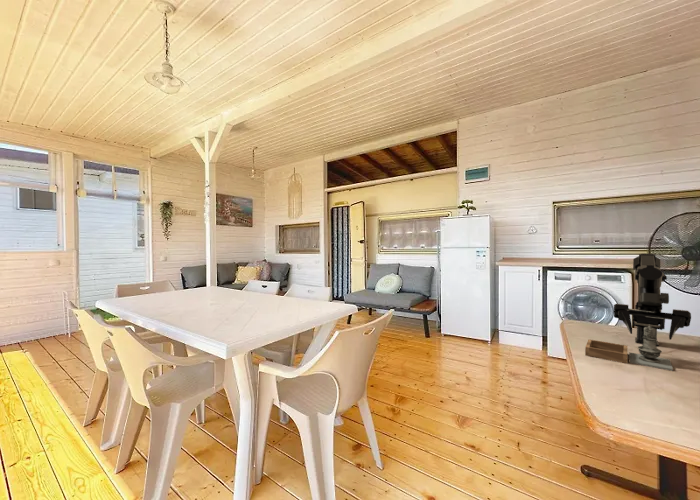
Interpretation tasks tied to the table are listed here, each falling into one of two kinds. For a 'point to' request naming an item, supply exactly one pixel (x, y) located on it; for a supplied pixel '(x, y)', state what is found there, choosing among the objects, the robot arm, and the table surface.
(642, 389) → the table surface
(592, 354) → the walnut holder
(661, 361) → the grey rubber mat
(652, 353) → the grey tall flared piece
